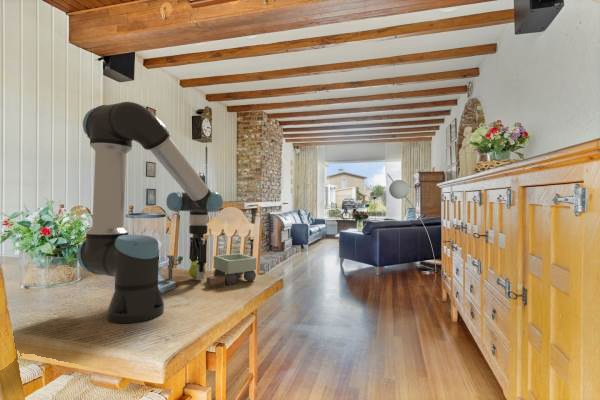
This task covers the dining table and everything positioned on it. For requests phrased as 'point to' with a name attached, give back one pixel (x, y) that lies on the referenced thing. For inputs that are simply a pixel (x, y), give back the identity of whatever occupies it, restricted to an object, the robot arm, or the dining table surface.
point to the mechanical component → (171, 263)
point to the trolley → (235, 267)
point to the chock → (215, 281)
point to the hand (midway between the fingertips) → (197, 277)
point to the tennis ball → (194, 271)
